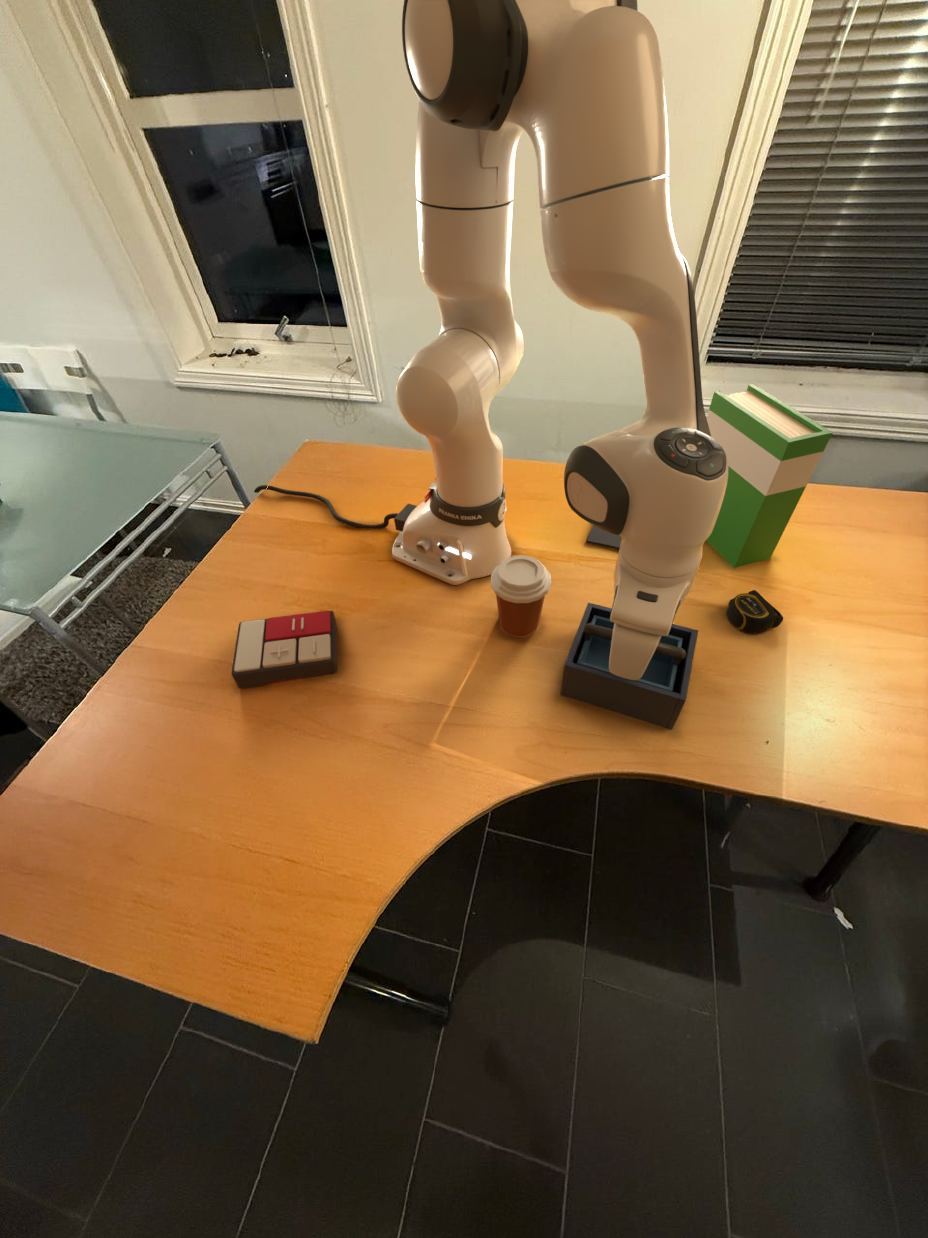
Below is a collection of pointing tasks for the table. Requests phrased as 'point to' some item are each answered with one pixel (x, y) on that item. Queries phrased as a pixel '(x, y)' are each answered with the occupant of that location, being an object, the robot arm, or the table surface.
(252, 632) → the button control panel
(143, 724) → the table surface
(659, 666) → the inner bin
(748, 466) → the hardback book
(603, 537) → the mat
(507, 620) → the coffee cup
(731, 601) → the tape measure
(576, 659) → the bin
